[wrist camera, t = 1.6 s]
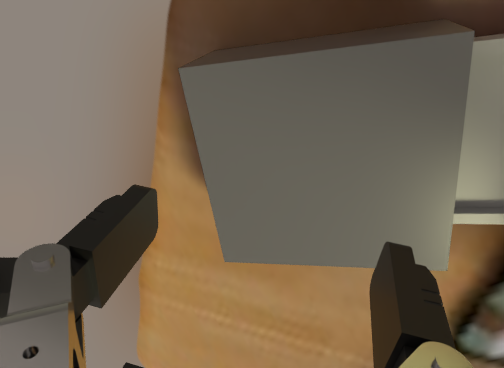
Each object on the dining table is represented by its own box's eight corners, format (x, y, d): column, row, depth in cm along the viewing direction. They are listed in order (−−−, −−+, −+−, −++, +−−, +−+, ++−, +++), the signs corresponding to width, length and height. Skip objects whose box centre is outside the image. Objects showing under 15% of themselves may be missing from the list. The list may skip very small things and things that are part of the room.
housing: (445, 18, 26) (474, 31, 20) (429, 216, 34) (447, 270, 27) (214, 50, 31) (178, 68, 25) (245, 216, 39) (224, 261, 33)
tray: (647, -12, 22) (719, -10, 18) (575, 228, 30) (612, 270, 25) (340, 31, 27) (338, 40, 23) (348, 226, 35) (348, 260, 31)
